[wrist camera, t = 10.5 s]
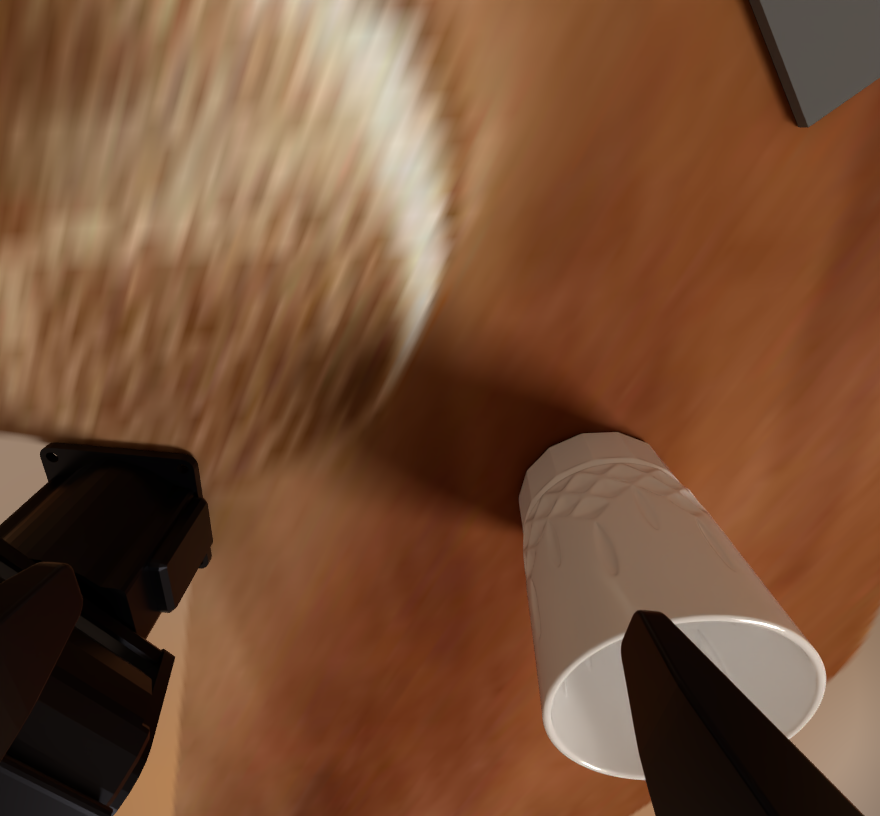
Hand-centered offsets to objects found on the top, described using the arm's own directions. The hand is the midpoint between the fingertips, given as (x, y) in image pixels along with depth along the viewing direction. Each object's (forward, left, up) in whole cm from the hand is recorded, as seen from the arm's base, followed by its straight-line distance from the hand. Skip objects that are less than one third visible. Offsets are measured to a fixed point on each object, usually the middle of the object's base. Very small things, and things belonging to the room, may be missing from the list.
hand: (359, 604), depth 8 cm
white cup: (+9, -7, -13) cm, 18 cm away
